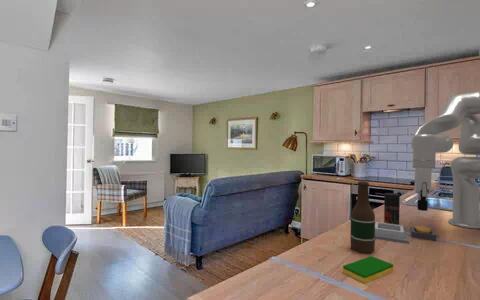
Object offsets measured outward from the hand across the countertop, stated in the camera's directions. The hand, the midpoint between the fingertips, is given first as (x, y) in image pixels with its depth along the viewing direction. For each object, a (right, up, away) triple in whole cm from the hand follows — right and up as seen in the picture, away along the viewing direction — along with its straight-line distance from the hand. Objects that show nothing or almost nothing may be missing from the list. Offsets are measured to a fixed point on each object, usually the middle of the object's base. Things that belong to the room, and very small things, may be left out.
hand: (422, 210), depth 107 cm
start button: (0, -9, 0) cm, 9 cm away
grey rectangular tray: (-13, -11, +1) cm, 17 cm away
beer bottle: (-31, -11, -14) cm, 36 cm away
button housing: (0, -11, 0) cm, 11 cm away
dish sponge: (-37, -12, -30) cm, 49 cm away
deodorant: (-6, -11, +12) cm, 17 cm away
